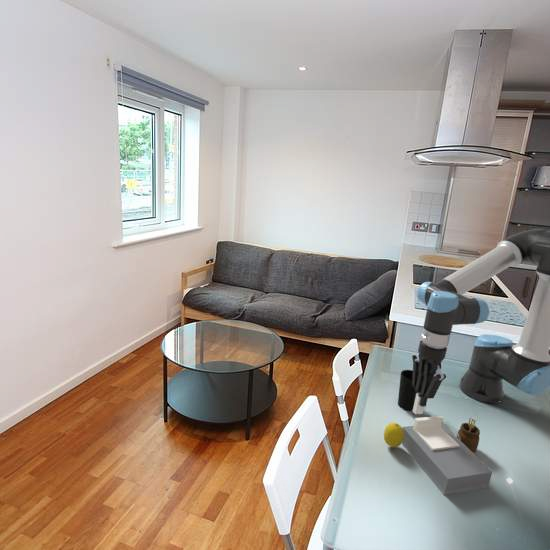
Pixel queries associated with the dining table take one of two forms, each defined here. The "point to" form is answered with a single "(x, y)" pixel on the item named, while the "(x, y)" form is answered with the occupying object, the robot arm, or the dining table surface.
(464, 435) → the utensil holder
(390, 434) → the lemon
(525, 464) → the dining table surface
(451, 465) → the socket block
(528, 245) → the robot arm
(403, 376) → the cup
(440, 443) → the panel
